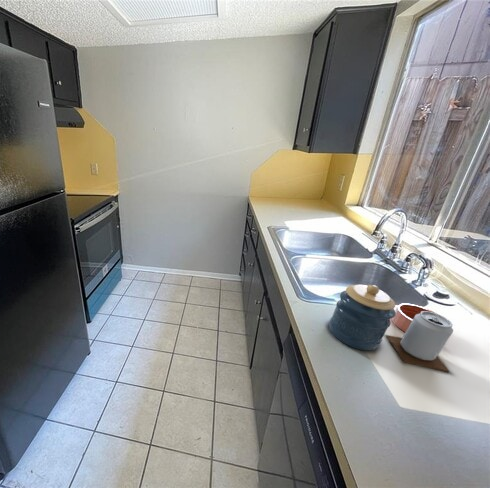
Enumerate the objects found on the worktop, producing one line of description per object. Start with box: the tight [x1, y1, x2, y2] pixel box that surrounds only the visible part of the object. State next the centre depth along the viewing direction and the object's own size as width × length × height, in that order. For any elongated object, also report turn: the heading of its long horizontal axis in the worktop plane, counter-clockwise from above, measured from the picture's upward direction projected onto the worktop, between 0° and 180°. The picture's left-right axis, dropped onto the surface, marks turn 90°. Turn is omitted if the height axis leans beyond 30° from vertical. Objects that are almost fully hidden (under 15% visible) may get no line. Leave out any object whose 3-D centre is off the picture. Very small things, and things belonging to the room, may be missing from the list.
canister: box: [328, 284, 396, 351], centre depth 74 cm, size 13×13×18 cm
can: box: [400, 311, 454, 360], centre depth 70 cm, size 8×8×12 cm
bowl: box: [391, 303, 438, 333], centre depth 81 cm, size 12×12×5 cm
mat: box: [386, 334, 450, 373], centre depth 72 cm, size 10×10×1 cm
